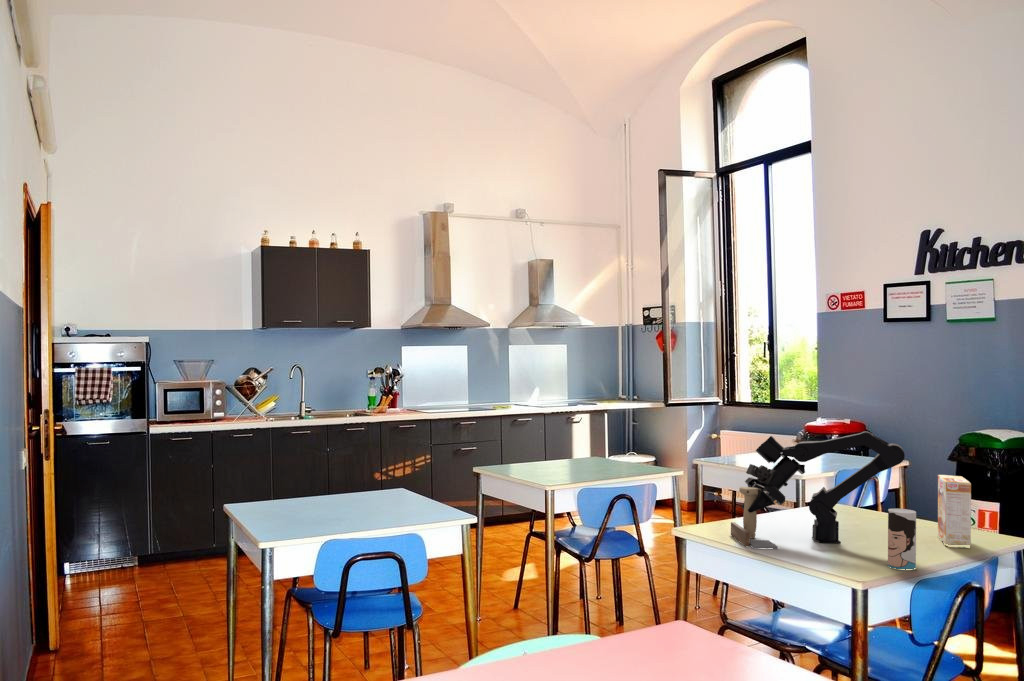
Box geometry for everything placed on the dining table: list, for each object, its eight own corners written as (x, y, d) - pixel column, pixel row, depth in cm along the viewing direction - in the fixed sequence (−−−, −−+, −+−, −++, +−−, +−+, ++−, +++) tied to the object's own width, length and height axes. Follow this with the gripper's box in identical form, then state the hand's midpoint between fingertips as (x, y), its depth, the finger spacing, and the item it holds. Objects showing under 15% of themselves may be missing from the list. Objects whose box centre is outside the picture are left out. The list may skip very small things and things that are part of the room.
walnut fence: (734, 535, 255) (734, 522, 255) (749, 546, 240) (749, 532, 240) (730, 535, 255) (730, 522, 255) (745, 546, 240) (745, 532, 240)
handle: (757, 540, 248) (758, 490, 248) (736, 537, 252) (737, 488, 252) (762, 537, 252) (763, 488, 252) (742, 534, 256) (742, 486, 256)
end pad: (768, 542, 245) (768, 540, 245) (777, 549, 237) (777, 546, 237) (745, 542, 245) (745, 539, 245) (754, 549, 237) (754, 546, 237)
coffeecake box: (936, 536, 257) (937, 474, 258) (962, 538, 255) (962, 475, 255) (944, 547, 243) (944, 481, 244) (971, 549, 241) (972, 482, 241)
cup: (888, 563, 223) (888, 507, 223) (915, 566, 220) (916, 510, 220) (887, 568, 217) (887, 511, 217) (915, 572, 214) (916, 514, 214)
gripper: (751, 451, 262) (717, 486, 261) (775, 459, 243) (739, 496, 242) (775, 476, 263) (741, 511, 261) (800, 486, 244) (764, 523, 243)
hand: (745, 510), depth 252 cm, fingers closed on handle, 5 cm apart
